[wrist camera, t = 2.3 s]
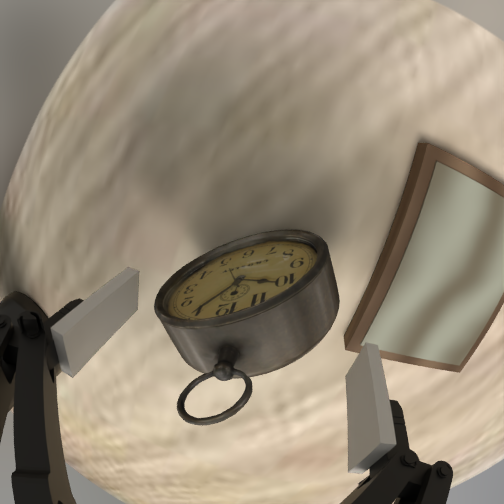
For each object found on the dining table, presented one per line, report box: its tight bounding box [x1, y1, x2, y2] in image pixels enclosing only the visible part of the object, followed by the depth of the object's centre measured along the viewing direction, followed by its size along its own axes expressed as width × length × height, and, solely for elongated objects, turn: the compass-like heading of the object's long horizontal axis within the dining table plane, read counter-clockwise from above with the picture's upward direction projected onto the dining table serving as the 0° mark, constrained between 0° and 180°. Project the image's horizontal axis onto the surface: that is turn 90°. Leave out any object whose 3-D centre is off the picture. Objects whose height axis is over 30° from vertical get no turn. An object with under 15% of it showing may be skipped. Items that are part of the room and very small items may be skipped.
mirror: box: [344, 143, 504, 372], centre depth 20 cm, size 14×18×2 cm
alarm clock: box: [154, 230, 340, 425], centre depth 17 cm, size 11×5×16 cm, turn 108°
